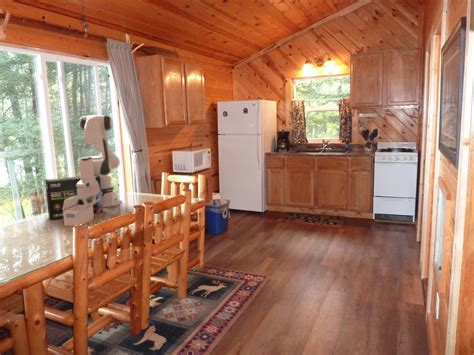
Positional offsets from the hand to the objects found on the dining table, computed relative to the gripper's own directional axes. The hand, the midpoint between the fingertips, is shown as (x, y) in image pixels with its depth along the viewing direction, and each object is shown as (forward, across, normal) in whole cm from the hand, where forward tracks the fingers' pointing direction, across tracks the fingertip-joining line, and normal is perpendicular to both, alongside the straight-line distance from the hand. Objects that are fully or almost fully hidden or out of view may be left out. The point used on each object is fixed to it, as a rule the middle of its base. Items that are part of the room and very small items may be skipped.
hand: (90, 203), depth 238 cm
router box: (+14, -18, -23) cm, 32 cm away
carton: (+14, 0, -9) cm, 16 cm away
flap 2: (+1, 0, 0) cm, 1 cm away
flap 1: (0, 0, -14) cm, 14 cm away
